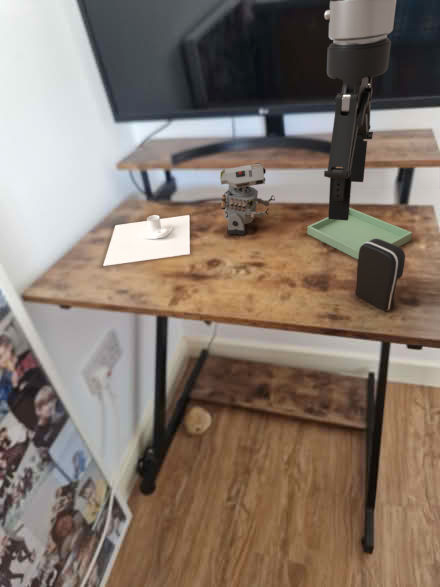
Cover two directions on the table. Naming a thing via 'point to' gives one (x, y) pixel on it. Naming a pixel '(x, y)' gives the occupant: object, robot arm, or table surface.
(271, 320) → the table surface
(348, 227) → the tray
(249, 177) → the figurine
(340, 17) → the robot arm
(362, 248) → the battery charger
